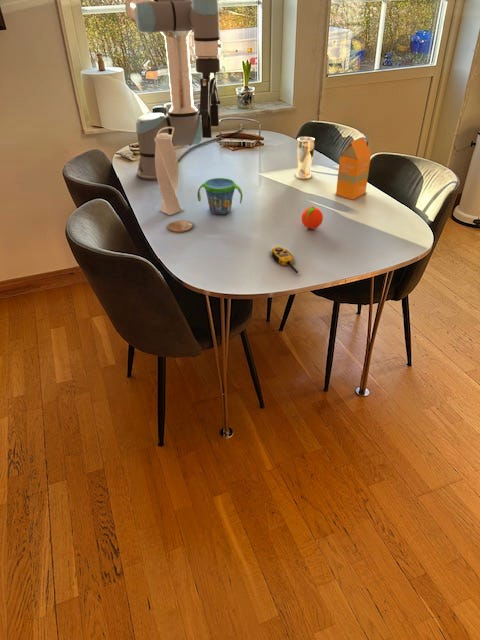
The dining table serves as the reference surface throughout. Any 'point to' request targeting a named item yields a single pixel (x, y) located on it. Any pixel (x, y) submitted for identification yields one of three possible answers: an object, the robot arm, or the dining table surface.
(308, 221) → the clementine
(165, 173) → the skyscraper
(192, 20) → the robot arm
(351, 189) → the orange juice
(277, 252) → the yellow walkie talkie
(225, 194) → the snack cup
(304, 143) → the beer glass
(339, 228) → the dining table surface
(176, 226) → the cork coaster
